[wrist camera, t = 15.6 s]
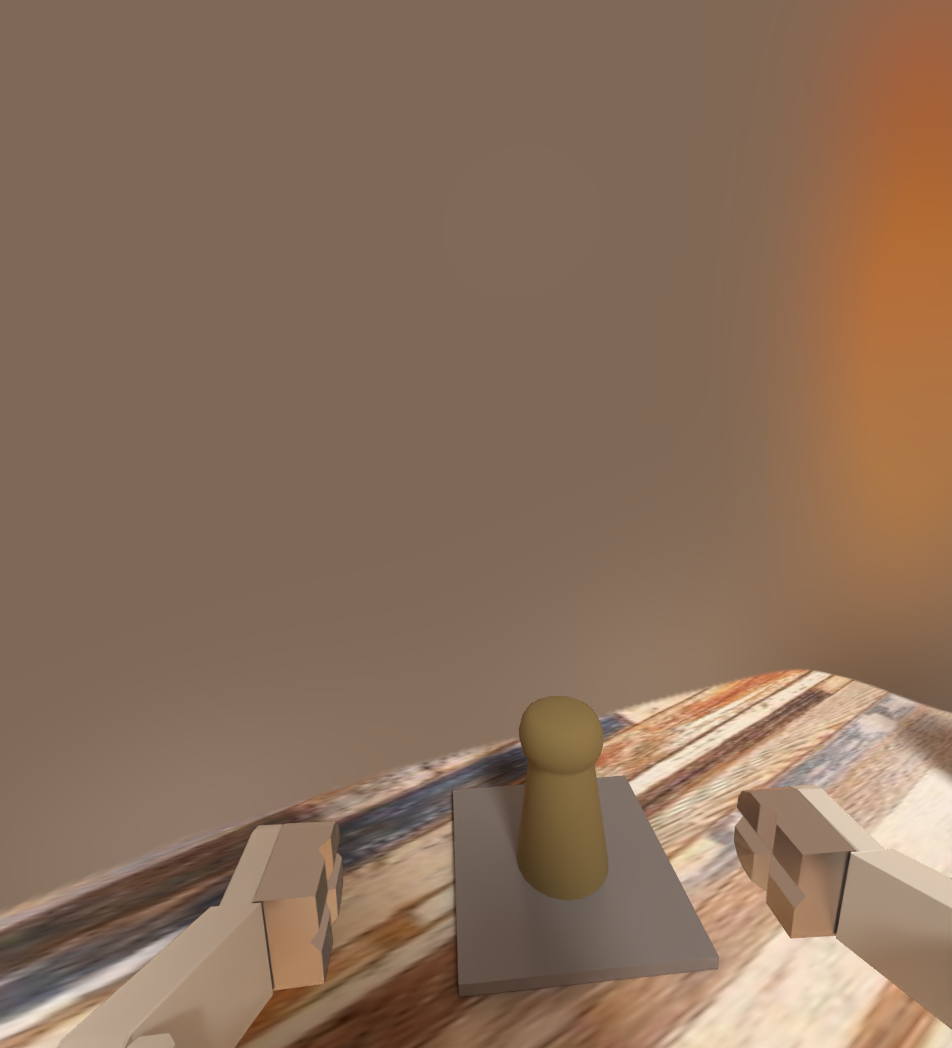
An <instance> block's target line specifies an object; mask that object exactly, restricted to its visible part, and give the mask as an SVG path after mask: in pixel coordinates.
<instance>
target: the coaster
mask: <svg viewBox="0 0 952 1048" xmlns="http://www.w3.org/2000/svg"><path fill="white" fill-rule="evenodd" d="M597 785H598V792H599V799H600V806H601V813H602V820H603V827H604V834H605V840H606V847H607V854H608V874H607V877H606V879H605V882H604V884H603V885H602V886H601V887H600V888H599V889H598V890H597V891H596V892H595V893H593V894H591V895H589V896H587V897H584V898H582V899H576V900H561V899H556V898H551V897H548V896H546V895H545V894H543V893H541V892H539V891H537V890H535V889H534V888H533V887H532V886H531V885H530V884H529V883H528V882H527V881H526V880H525V879H524V877H523V875H522V873H521V871H520V870H519V867H518V861H517V848H518V839H519V831H520V823H521V815H522V806H523V798H524V790H525V784H520V785H509V786H497V787H485V788H474V789H462V790H453V809H454V845H455V881H456V917H457V953H458V987H459V997H464V996H474V995H483V994H492V993H501V992H510V991H519V990H528V989H538V988H547V987H556V986H565V985H574V984H583V983H592V982H601V981H611V980H620V979H629V978H638V977H647V976H656V975H665V974H675V973H684V972H693V971H702V970H711V969H718V963H719V956H718V954H717V952H716V950H715V948H714V946H713V944H712V943H711V941H710V939H709V937H708V935H707V933H706V931H705V929H704V927H703V925H702V923H701V921H700V919H699V918H698V916H697V914H696V912H695V910H694V908H693V906H692V904H691V902H690V900H689V898H688V896H687V894H686V892H685V891H684V889H683V887H682V885H681V883H680V881H679V879H678V877H677V875H676V873H675V871H674V869H673V867H672V866H671V864H670V862H669V860H668V858H667V856H666V854H665V852H664V850H663V848H662V846H661V844H660V842H659V841H658V839H657V837H656V835H655V833H654V831H653V829H652V827H651V825H650V823H649V821H648V819H647V817H646V815H645V814H644V812H643V810H642V808H641V806H640V804H639V802H638V800H637V798H636V796H635V794H634V792H633V790H632V789H631V787H630V785H629V783H628V781H627V779H626V777H625V776H614V777H602V778H597Z"/></svg>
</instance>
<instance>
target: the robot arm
mask: <svg viewBox="0 0 952 1048" xmlns="http://www.w3.org/2000/svg"><path fill="white" fill-rule="evenodd" d="M737 808H738V810H739V811H740V812H741V814H742V815H743V817H742V818H741V819H740V821H739V822H738V823H737V824H736V826H735V833H734V843H735V847H736V852H737V856H738V858H739V860H740V863H741V865H742V867H743V869H744V871H745V872H746V874H747V875H748V877H749V878H750V880H751V881H752V882H754V883H755V884H757V885H758V886H760V887H761V888H763V889H764V890H766V903H767V905H768V906H769V908H770V909H771V911H772V912H773V914H774V915H775V916H776V918H777V919H778V921H779V922H780V924H781V925H782V927H783V928H784V930H785V931H786V933H787V934H788V935H789V937H790V938H805V937H821V936H836V939H837V940H839V941H840V942H841V943H843V944H844V945H845V946H846V947H848V948H849V949H850V950H851V951H853V952H854V953H855V954H857V955H858V956H859V957H860V958H862V959H863V960H864V961H865V962H867V963H868V964H869V965H870V966H872V967H873V968H874V969H876V970H877V971H878V972H879V973H881V974H882V975H883V976H884V977H886V978H887V979H888V980H890V981H891V982H892V983H893V984H895V985H896V986H897V987H898V988H900V989H901V990H902V991H904V992H905V993H906V994H907V995H909V996H910V997H911V998H912V999H914V1000H915V1001H916V1002H917V1003H919V1004H920V1005H921V1006H923V1007H924V1008H925V1009H926V1010H928V1011H929V1012H930V1013H931V1014H933V1015H934V1016H935V1017H937V1018H938V1019H939V1020H940V1021H942V1022H943V1023H944V1024H945V1025H947V1026H948V1027H949V1028H951V1029H952V879H951V878H949V877H947V876H945V875H943V874H941V873H939V872H937V871H936V870H934V869H932V868H930V867H928V866H926V865H924V864H922V863H920V862H918V861H916V860H914V859H912V858H910V857H908V856H906V855H904V854H902V853H900V852H898V851H896V850H894V849H884V848H883V847H882V846H881V845H880V844H879V843H878V842H877V841H876V840H875V839H874V838H873V837H872V836H870V835H869V834H868V833H867V832H866V831H865V830H864V829H863V828H862V827H861V826H860V825H859V824H858V823H857V822H856V821H855V820H854V819H853V818H852V817H851V816H850V815H849V814H848V813H847V812H845V811H844V810H843V809H842V808H841V807H840V806H839V805H838V804H837V803H836V802H835V801H834V800H833V799H832V798H831V797H830V796H829V795H828V794H827V793H826V792H825V791H824V790H823V789H821V788H820V787H818V786H816V785H814V784H811V785H800V786H790V787H781V788H769V789H757V790H745V791H742V792H741V794H740V795H739V797H738V804H737ZM339 841H340V832H339V824H338V823H337V822H336V821H330V822H309V823H288V824H284V825H258V827H257V828H256V829H255V830H254V831H253V832H252V834H251V836H250V838H249V841H248V843H247V845H246V847H245V849H244V852H243V854H242V856H241V858H240V861H239V863H238V865H237V867H236V869H235V872H234V874H233V876H232V878H231V881H230V883H229V885H228V887H227V889H226V892H225V894H224V896H223V898H222V901H221V903H220V905H219V906H215V907H210V908H209V909H208V910H206V911H205V912H204V913H203V914H202V915H201V916H200V917H199V918H198V919H196V920H195V921H194V922H193V923H192V924H191V925H190V926H189V927H187V928H186V929H185V930H184V931H183V932H182V933H181V934H180V935H179V936H177V937H176V938H175V939H174V940H173V941H172V942H171V943H170V944H168V945H167V946H166V947H165V948H164V949H163V950H162V951H161V952H160V953H158V954H157V955H156V956H155V957H154V958H153V959H152V960H151V961H149V962H148V963H147V964H146V965H145V966H144V967H143V968H142V969H141V970H139V971H138V972H137V973H136V974H135V975H134V976H133V977H132V978H130V979H129V980H128V981H127V982H126V983H125V984H124V985H123V986H122V987H120V988H119V989H118V990H117V991H116V992H115V993H114V994H113V995H111V996H110V997H109V998H108V999H107V1000H106V1001H105V1002H104V1003H103V1004H101V1005H100V1006H99V1007H98V1008H97V1009H96V1010H95V1011H94V1012H92V1013H91V1014H90V1015H89V1016H88V1017H87V1018H86V1019H85V1020H84V1021H82V1022H81V1023H80V1024H79V1025H78V1026H77V1027H76V1028H75V1029H73V1030H72V1031H71V1032H70V1033H69V1034H68V1035H67V1036H66V1037H65V1038H63V1039H62V1040H61V1041H60V1043H59V1045H58V1046H57V1048H235V1047H236V1045H237V1044H238V1042H239V1041H240V1040H241V1038H242V1037H243V1035H244V1034H245V1033H246V1031H247V1030H248V1028H249V1027H250V1026H251V1024H252V1023H253V1022H254V1020H255V1019H256V1017H257V1016H258V1015H259V1013H260V1012H261V1010H262V1009H263V1008H264V1006H265V1005H266V1004H267V1002H268V1001H269V999H270V998H271V997H272V995H273V990H281V989H289V988H296V987H304V986H311V985H319V984H325V979H326V974H327V969H328V964H329V960H330V955H331V950H332V945H333V938H332V926H331V925H332V924H333V922H334V921H335V920H336V919H337V918H338V915H339V909H340V904H341V896H342V886H343V864H342V857H341V856H340V855H339V854H338V853H337V850H338V846H339Z"/></svg>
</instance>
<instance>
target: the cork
mask: <svg viewBox="0 0 952 1048" xmlns="http://www.w3.org/2000/svg"><path fill="white" fill-rule="evenodd" d="M519 738H520V742H521V746H522V749H523V752H524V754H525V756H526V757H527V758H528V765H527V773H526V782H525V790H524V798H523V806H522V815H521V823H520V831H519V839H518V848H517V861H518V867H519V870H520V871H521V873H522V875H523V877H524V879H525V880H526V881H527V882H528V883H529V884H530V885H531V886H532V887H533V888H534V889H535V890H537V891H539V892H541V893H543V894H545V895H546V896H548V897H551V898H556V899H561V900H576V899H582V898H584V897H587V896H589V895H591V894H593V893H595V892H596V891H597V890H598V889H599V888H600V887H601V886H602V885H603V884H604V882H605V879H606V877H607V874H608V854H607V847H606V840H605V834H604V827H603V820H602V813H601V806H600V799H599V792H598V785H597V778H596V771H595V763H596V761H597V760H598V758H599V756H600V754H601V750H602V747H603V729H602V726H601V722H600V720H599V718H598V716H597V715H596V713H595V712H594V710H593V709H592V708H591V707H589V706H588V705H587V704H586V703H584V702H582V701H579V700H577V699H573V698H570V697H565V696H550V697H546V698H542V699H538V700H537V701H535V702H533V703H531V704H530V706H529V707H528V708H527V709H526V711H525V712H524V713H523V716H522V719H521V723H520V727H519Z"/></svg>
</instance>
